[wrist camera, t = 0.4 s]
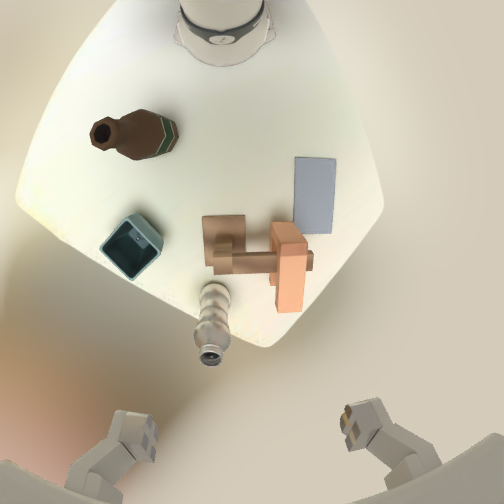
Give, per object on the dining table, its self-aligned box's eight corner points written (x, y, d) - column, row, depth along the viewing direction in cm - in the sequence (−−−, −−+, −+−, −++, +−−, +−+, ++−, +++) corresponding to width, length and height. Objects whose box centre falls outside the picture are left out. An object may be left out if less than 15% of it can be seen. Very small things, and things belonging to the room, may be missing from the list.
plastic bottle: (223, 275, 56) (220, 338, 38) (235, 300, 59) (238, 367, 41) (195, 285, 57) (181, 349, 38) (208, 309, 59) (202, 376, 41)
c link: (270, 221, 49) (280, 243, 39) (292, 221, 49) (307, 242, 39) (269, 280, 53) (277, 313, 43) (289, 279, 54) (301, 311, 44)
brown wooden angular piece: (202, 216, 51) (194, 236, 41) (298, 214, 52) (315, 233, 42) (206, 264, 55) (200, 293, 44) (296, 261, 56) (310, 289, 46)
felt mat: (295, 157, 48) (295, 157, 47) (335, 159, 49) (336, 159, 48) (292, 233, 54) (293, 234, 53) (330, 232, 54) (331, 233, 54)
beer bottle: (138, 155, 46) (70, 169, 23) (142, 115, 43) (76, 100, 21) (177, 157, 47) (131, 171, 24) (182, 116, 44) (140, 96, 22)
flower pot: (144, 262, 54) (131, 282, 46) (116, 232, 51) (97, 249, 43) (172, 235, 52) (162, 253, 44) (142, 203, 49) (126, 216, 41)
